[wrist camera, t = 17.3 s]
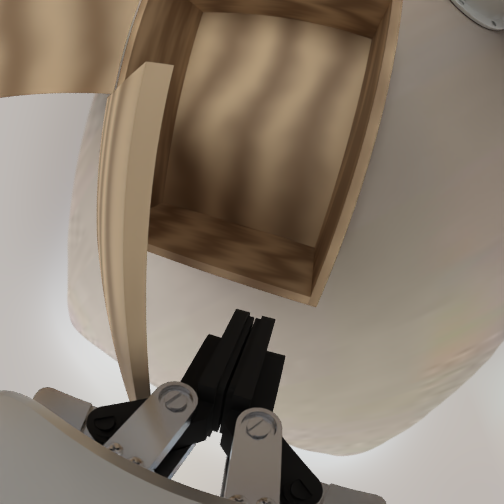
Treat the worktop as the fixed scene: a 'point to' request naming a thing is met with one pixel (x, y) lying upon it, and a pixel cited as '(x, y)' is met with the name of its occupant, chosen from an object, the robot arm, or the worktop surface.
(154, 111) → the flap
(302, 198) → the carton
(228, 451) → the robot arm
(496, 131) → the worktop surface
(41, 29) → the flap
